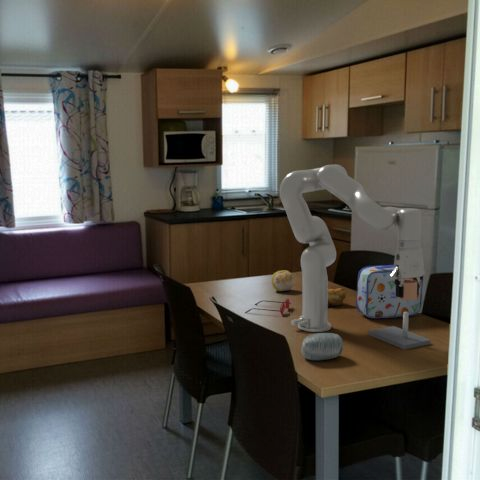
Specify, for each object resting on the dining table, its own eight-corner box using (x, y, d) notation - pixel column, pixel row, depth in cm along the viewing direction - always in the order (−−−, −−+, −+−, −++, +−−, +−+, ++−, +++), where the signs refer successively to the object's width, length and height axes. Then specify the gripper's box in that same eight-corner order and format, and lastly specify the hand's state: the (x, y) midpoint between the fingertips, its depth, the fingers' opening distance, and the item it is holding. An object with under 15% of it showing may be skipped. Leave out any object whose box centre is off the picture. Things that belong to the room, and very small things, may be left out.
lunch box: (412, 309, 242) (414, 258, 239) (426, 316, 232) (429, 262, 229) (353, 315, 235) (354, 262, 231) (365, 322, 225) (367, 267, 222)
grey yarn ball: (338, 340, 193) (336, 320, 187) (348, 362, 186) (346, 341, 179) (299, 351, 192) (296, 331, 186) (307, 373, 185) (304, 353, 179)
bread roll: (322, 309, 244) (322, 290, 243) (311, 303, 253) (311, 285, 252) (348, 306, 248) (348, 288, 247) (337, 300, 257) (337, 283, 256)
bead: (406, 301, 195) (407, 283, 194) (393, 297, 200) (394, 280, 200) (420, 298, 198) (421, 281, 197) (407, 294, 203) (407, 278, 203)
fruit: (267, 290, 277) (267, 269, 276) (287, 287, 282) (287, 267, 280) (277, 294, 268) (278, 273, 267) (297, 292, 273) (298, 271, 271)
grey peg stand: (404, 349, 194) (405, 318, 192) (368, 334, 209) (369, 305, 208) (430, 343, 199) (431, 313, 198) (393, 329, 215) (394, 301, 213)
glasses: (282, 317, 233) (282, 305, 232) (244, 313, 239) (244, 302, 238) (291, 308, 246) (291, 297, 245) (254, 305, 252) (254, 294, 251)
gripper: (397, 248, 189) (396, 301, 192) (435, 244, 197) (433, 294, 200) (381, 245, 196) (380, 296, 198) (419, 241, 204) (417, 290, 206)
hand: (407, 295), depth 199 cm, fingers closed on bead, 6 cm apart
